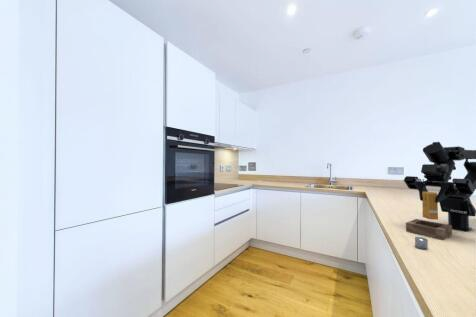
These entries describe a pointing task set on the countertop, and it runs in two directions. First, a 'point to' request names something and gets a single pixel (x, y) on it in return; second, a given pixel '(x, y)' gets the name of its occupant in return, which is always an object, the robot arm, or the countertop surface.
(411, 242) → the countertop surface
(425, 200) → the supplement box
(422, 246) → the short metal stub
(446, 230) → the hole block
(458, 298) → the countertop surface
